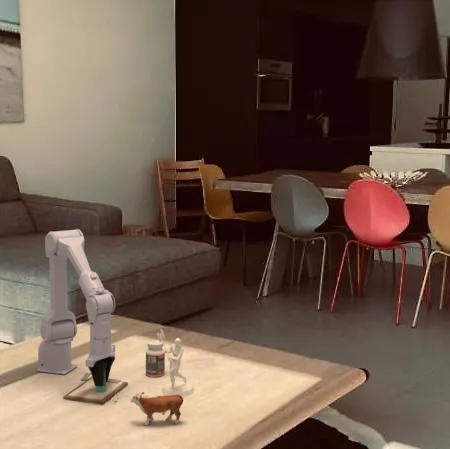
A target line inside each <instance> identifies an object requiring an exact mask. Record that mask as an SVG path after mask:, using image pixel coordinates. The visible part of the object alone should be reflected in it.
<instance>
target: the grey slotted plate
mask: <svg viewBox="0 0 450 449" xmlns="http://www.w3.org/2000/svg"><path fill="white" fill-rule="evenodd" d="M90 377H91V378H93V377H92V374H91V372H86V373H85V374H84V375H83V376H82V378H80V382H81V381H82V382H85V381H86V380H87V379H89V378H90Z"/></svg>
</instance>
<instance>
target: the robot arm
mask: <svg viewBox="0 0 450 449" xmlns="http://www.w3.org/2000/svg"><path fill="white" fill-rule="evenodd" d="M44 243H45V244H44V245H45V248H44V251H45V252H44V253H45V257H47V258H48V259H49V293H50V295H49V296H50V297H49V298H50V303H49V304H50V310H49V311H48V312H46V313H45V314H44V315H43V316H42V317H41V325H40V327H39V328H40V329H39V330H40V336H41V339H42V341H41V342H40V343H39V345H38V349H37V352H38V353H37V354H38V356H37V357H38V368H37V369H36V371H37V372H42V373H49V374H57V375H66V374H68V373H70V372H71V371H73V370H75V368H77V367H78V365H76V364H72V342H73V341H74V338H75V337H76V336H77V334H78V325H77V321H76V315H75V314H74V313H73V312H72V311H70V310H69V307H68V305H69V304H68V263H67V262H68V261H67V260H68V259H69V261H70V264H72V266H73V268H74V269H75V271H76V272H77V275H79V278H78V281H77V282H78V285H79V287H80V289H81V291H82V293H83V296H84V298H85V300H86V303H85V309H86V313H87V319H88V322H89V326H90V327H89V329H90V330H89V331H90V332H89V337H90V339H89V340H90V342H89V343H90V347H89V350H90V351H89V354H88V356H87V358H86V359H85V367H87V368H88V369H89V373H91V374H92V377H93V381H94V384H95V386H102V385H103V381H104V372H105V369H106V383H107V382H108V378H110V374H111V369H112V366H113V364H114V362H115V360H116V344H112V314H113V313H114V312H115V309H116V301H115V297H114V294H113V293H112V292H110V291H109V290H108V289H105V287H104V285H103V283H102V281H101V279H100V277H99V275H98V273H97V272H95V271H92V269H91V266H90V264H89V261H88V258H87V255H86V253H85V251H84V250H85V237H84V234H83V232H82V231H81V230H80V229H79V228H75V229H70V230H68V229H67V230H57V231H52V230H51V231H49V232H48V233H47V234H46V236H45V238H44ZM102 362H105V363H102Z"/></svg>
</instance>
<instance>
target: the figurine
mask: <svg viewBox="0 0 450 449" xmlns="http://www.w3.org/2000/svg"><path fill="white" fill-rule="evenodd" d="M159 331H160V332H159ZM159 331H158V332H156V336H157V340H159V341H160V342H163V348H164V351H165V354H166V355H167V359H168V361H169V369H170V370H169V378H170V381H171V382H168V383H166V384H164V385H163V387H161V393H162V394H164V396H167V395H181V396H182V397H185V396H186V397H187V396H190V395H192V394H193V393H194V392H195V388H194V386H193V385H192V384H191V383H188V381H187V377H186V376H185V375H183V374H182V373H181V372H179V369H180V366H181V359H182V357H183V353H184V350H185V349H184V348H183V347H182V346H183V345H182V339H180V338H179V337H177V338H175V340H173V342H174V343H173V344H172V345H171V346H170V347H169V349H167V347H166V345H165V342H164V340H165V338H166V337H165V334H164V331H163V329H162V328H160V329H159ZM169 354H172V356H170V355H169ZM176 377H178V378H180V379H181V380H182V381H176V380H175V379H176ZM194 394H195V393H194Z"/></svg>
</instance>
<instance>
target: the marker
mask: <svg viewBox="0 0 450 449" xmlns="http://www.w3.org/2000/svg"><path fill="white" fill-rule="evenodd" d="M102 363H105V362H102ZM95 389H96V392H99V393H102V392H105V391H106V369H105V372H104V381H103V385H102V386H95Z"/></svg>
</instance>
